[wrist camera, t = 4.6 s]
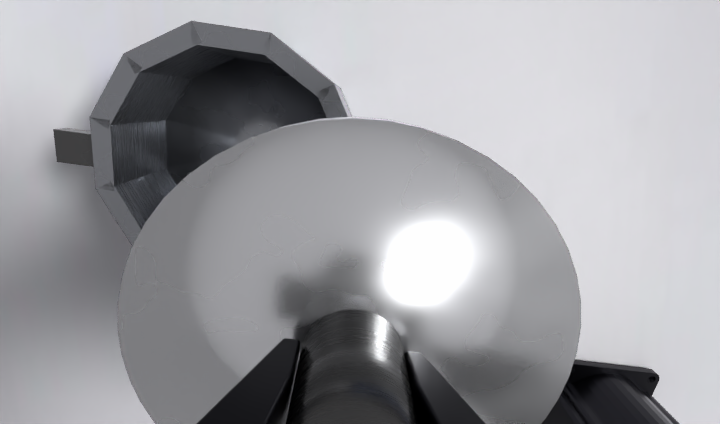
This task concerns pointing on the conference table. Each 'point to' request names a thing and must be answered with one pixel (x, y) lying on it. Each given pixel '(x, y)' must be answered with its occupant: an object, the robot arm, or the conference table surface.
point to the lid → (350, 278)
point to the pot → (190, 111)
